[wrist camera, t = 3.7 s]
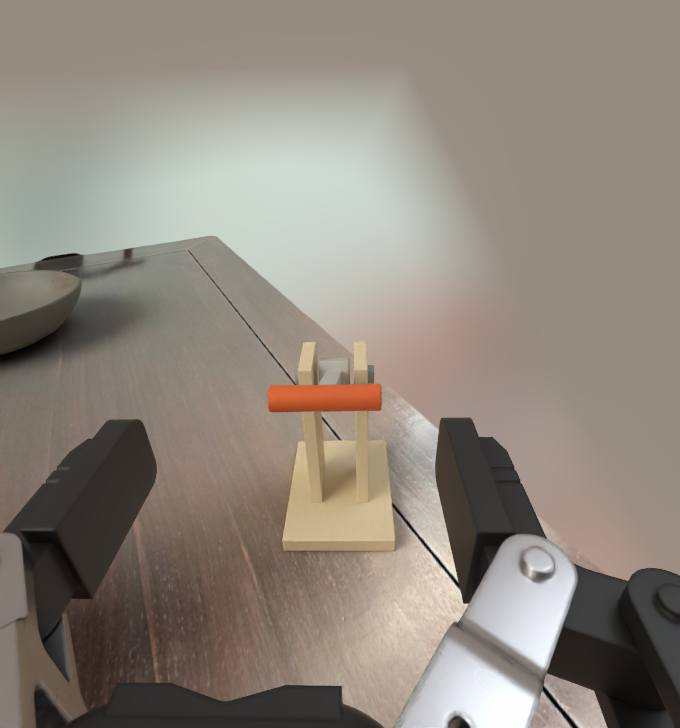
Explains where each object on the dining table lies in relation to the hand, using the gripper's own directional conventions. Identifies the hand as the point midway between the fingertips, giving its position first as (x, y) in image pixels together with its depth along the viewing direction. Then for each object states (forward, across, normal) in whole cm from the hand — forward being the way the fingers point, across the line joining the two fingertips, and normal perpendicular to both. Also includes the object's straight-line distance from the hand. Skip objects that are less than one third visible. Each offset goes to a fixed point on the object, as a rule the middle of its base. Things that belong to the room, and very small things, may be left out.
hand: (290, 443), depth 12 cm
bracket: (+19, 0, +23) cm, 30 cm away
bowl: (+51, +56, +23) cm, 79 cm away
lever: (+15, 0, +9) cm, 17 cm away
